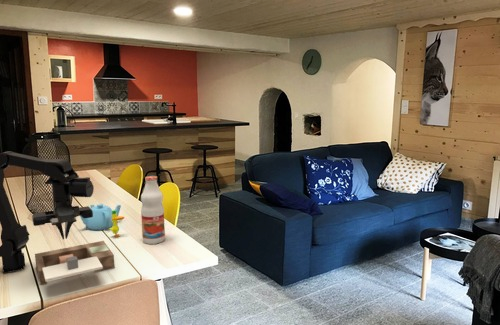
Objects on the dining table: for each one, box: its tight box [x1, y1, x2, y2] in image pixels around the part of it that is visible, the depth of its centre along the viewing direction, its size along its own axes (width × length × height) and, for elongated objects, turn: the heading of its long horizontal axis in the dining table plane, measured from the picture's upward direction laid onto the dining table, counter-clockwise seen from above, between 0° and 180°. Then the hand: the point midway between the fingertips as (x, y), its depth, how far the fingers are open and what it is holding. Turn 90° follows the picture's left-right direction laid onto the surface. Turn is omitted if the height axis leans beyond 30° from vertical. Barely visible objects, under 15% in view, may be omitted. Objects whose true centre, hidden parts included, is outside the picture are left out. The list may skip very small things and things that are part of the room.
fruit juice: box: [140, 175, 166, 245], centre depth 166 cm, size 9×9×28 cm
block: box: [59, 254, 73, 264], centre depth 141 cm, size 4×4×4 cm
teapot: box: [79, 203, 122, 231], centre depth 184 cm, size 15×15×11 cm
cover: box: [42, 256, 103, 283], centre depth 129 cm, size 17×10×4 cm, turn 123°
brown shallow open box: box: [34, 240, 116, 286], centre depth 142 cm, size 24×16×5 cm, turn 123°
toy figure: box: [109, 209, 125, 238], centre depth 171 cm, size 7×4×12 cm, turn 118°
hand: (64, 238), depth 138 cm, fingers closed
